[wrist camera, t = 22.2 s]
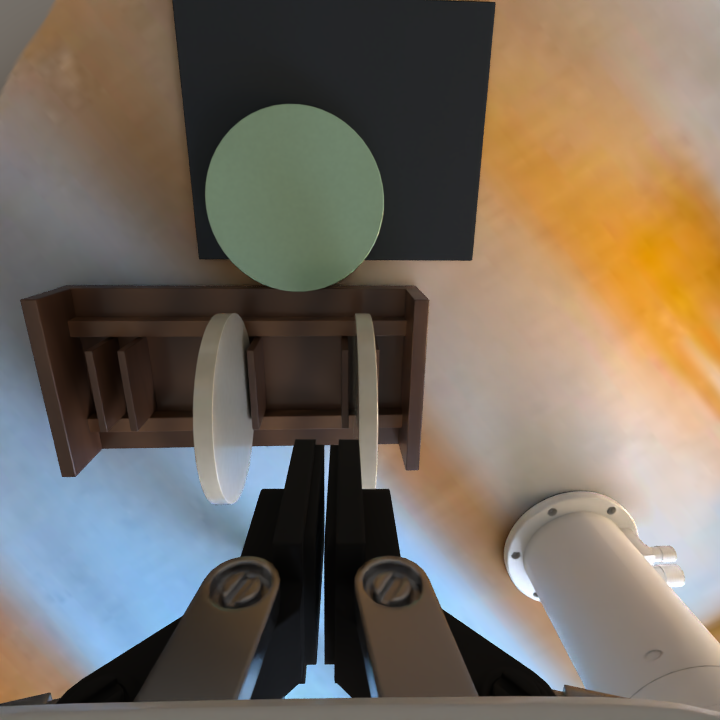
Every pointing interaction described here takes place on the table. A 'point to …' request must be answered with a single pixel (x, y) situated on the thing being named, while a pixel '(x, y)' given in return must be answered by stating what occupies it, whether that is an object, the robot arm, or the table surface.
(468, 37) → the mat
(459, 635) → the robot arm
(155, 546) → the table surface
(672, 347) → the table surface
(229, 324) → the cream plate
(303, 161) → the green plate
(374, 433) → the cream plate
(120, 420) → the plate rack
